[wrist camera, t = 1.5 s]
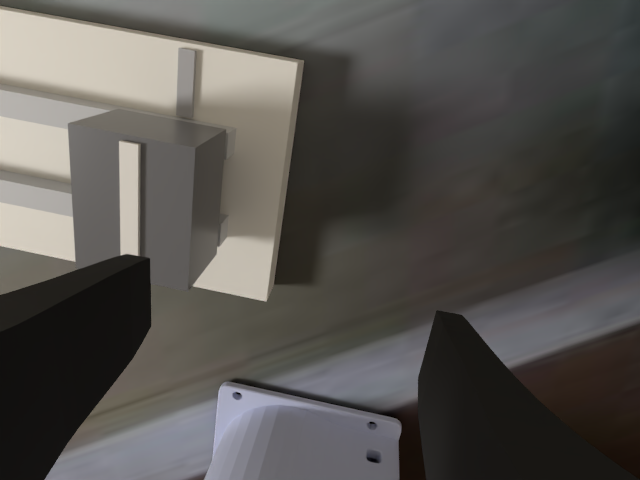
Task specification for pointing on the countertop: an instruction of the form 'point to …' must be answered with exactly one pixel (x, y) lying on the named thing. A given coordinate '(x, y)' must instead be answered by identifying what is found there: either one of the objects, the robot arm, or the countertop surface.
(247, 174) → the fader console
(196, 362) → the countertop surface
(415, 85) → the countertop surface
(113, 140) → the fader knob
